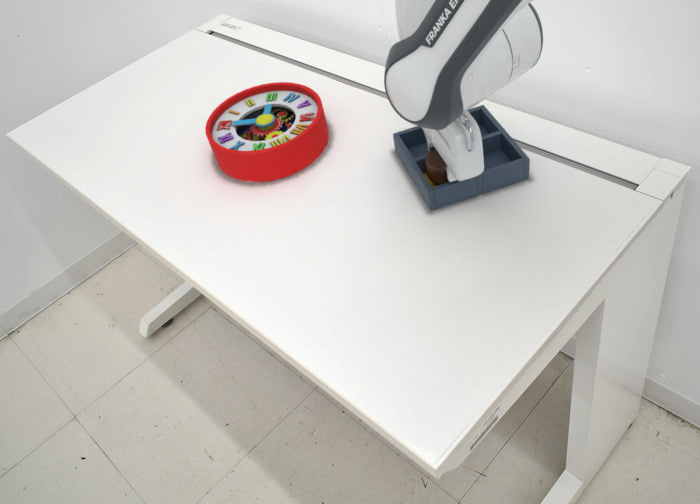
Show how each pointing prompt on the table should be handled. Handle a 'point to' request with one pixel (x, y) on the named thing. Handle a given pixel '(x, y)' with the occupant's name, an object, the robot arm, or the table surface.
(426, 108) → the robot arm
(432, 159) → the cylinder
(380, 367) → the table surface
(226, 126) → the toy clock
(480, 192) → the grid
